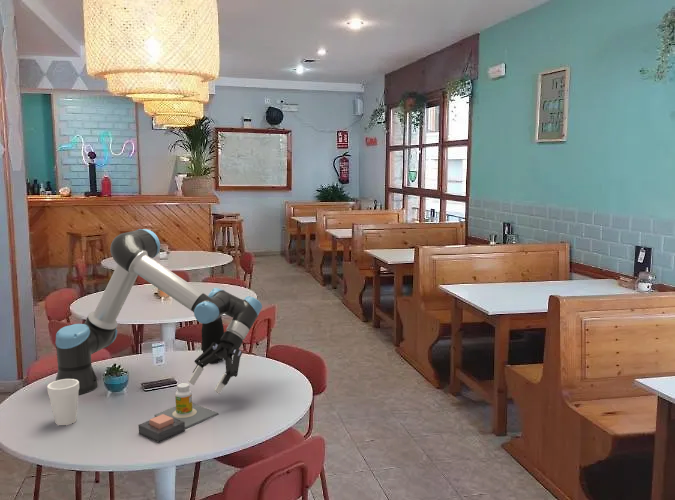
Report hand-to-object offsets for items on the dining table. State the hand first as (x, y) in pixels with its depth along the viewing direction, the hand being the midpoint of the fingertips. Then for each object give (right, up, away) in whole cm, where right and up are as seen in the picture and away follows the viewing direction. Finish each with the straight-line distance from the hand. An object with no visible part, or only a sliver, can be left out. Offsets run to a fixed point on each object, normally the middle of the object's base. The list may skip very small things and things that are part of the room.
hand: (203, 387), depth 210 cm
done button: (-9, -7, -19) cm, 22 cm away
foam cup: (-43, -9, -11) cm, 45 cm away
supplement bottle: (-5, -7, -5) cm, 10 cm away
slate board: (-4, -8, -6) cm, 11 cm away
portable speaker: (-6, 0, +49) cm, 49 cm away
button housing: (-9, -10, -19) cm, 23 cm away
